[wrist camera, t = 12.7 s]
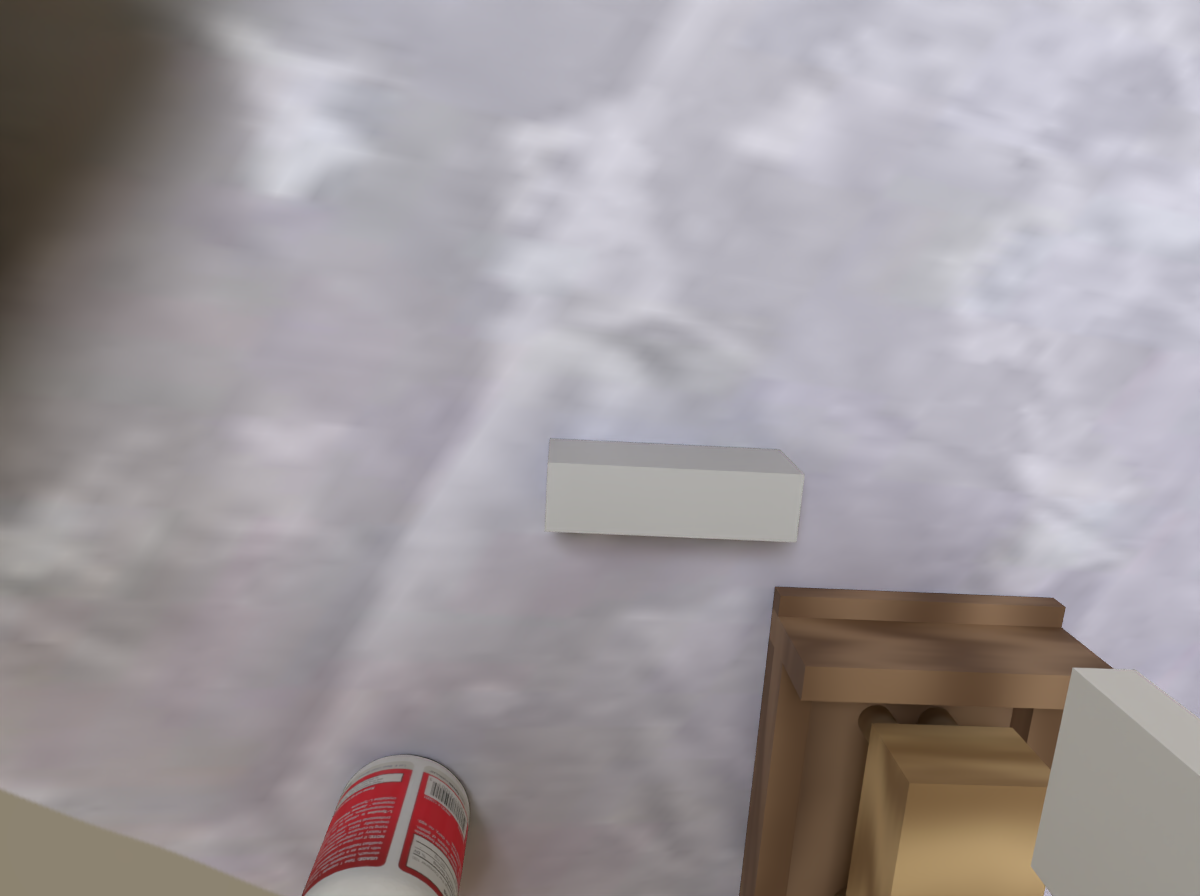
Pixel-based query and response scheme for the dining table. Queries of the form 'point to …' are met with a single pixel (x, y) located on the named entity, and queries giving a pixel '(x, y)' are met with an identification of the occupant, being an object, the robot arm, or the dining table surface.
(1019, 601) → the peg frame
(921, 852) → the plank
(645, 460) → the stand
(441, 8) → the dining table surface
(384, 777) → the pill bottle
